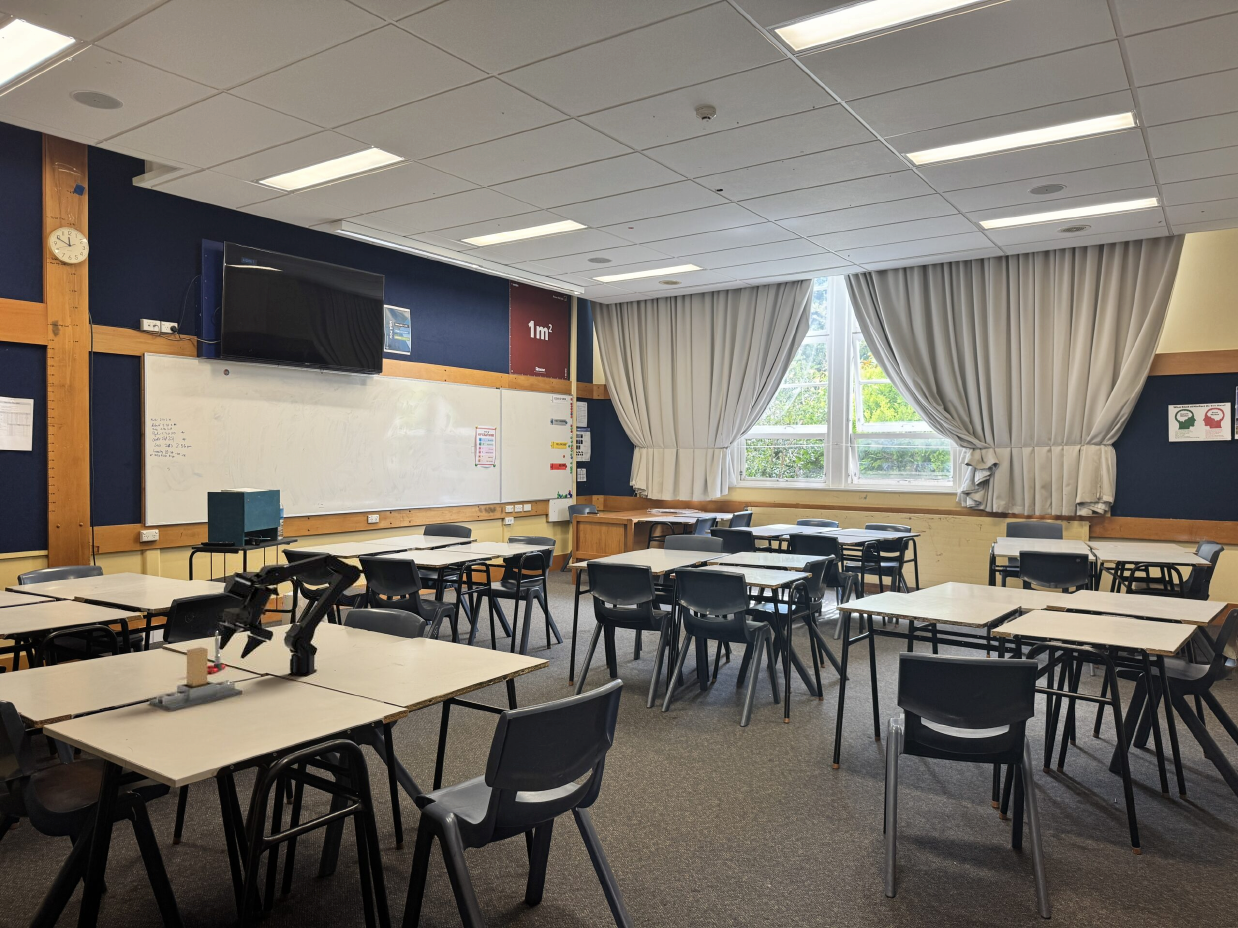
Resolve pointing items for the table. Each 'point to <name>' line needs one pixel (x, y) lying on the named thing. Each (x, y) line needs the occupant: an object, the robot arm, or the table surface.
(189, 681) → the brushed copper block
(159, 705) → the grey fixture tray
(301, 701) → the table surface
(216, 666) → the tow hook
